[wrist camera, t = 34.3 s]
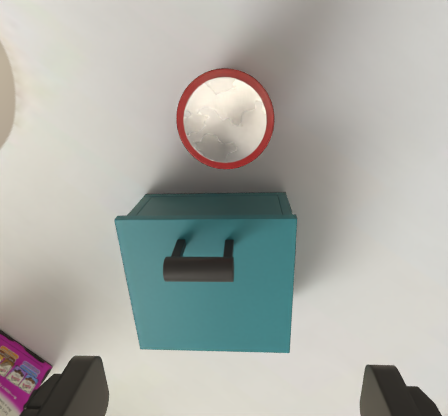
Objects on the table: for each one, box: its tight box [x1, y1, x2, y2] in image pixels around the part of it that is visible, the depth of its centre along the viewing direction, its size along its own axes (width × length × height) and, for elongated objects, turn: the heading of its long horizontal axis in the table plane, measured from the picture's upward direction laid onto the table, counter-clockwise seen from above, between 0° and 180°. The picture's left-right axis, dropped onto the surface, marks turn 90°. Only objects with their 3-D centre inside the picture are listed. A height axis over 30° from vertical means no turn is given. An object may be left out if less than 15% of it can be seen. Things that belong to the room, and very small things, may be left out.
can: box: [177, 68, 274, 169], centre depth 27 cm, size 6×6×11 cm
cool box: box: [127, 192, 293, 216], centre depth 34 cm, size 14×15×7 cm
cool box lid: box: [115, 214, 297, 353], centre depth 28 cm, size 15×15×5 cm
